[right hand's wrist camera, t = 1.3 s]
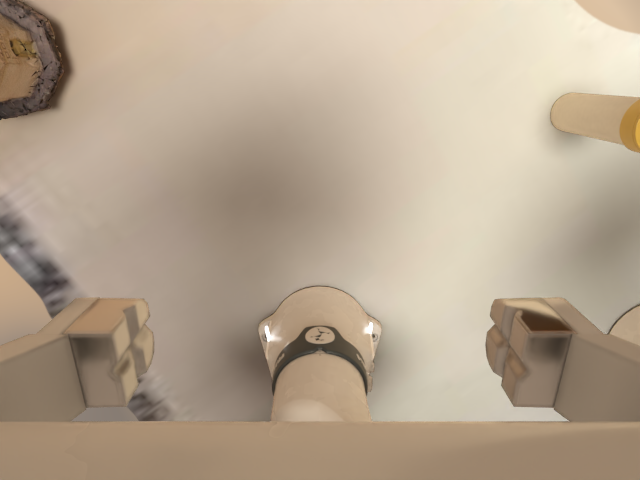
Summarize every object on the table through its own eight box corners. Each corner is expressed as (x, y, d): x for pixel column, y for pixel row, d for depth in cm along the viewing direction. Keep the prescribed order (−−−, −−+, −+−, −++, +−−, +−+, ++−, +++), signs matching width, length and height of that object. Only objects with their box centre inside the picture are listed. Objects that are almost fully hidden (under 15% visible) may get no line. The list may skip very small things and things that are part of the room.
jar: (594, 98, 54) (698, 106, 39) (577, 134, 56) (671, 156, 41) (559, 88, 54) (652, 93, 39) (544, 126, 55) (627, 144, 40)
